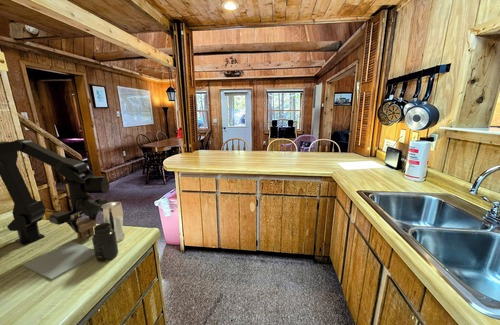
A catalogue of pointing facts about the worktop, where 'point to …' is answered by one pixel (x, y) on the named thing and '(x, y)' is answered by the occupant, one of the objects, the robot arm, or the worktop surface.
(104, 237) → the supplement bottle
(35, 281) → the worktop surface
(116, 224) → the beer glass
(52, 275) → the rubber mat
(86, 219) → the walnut stool
